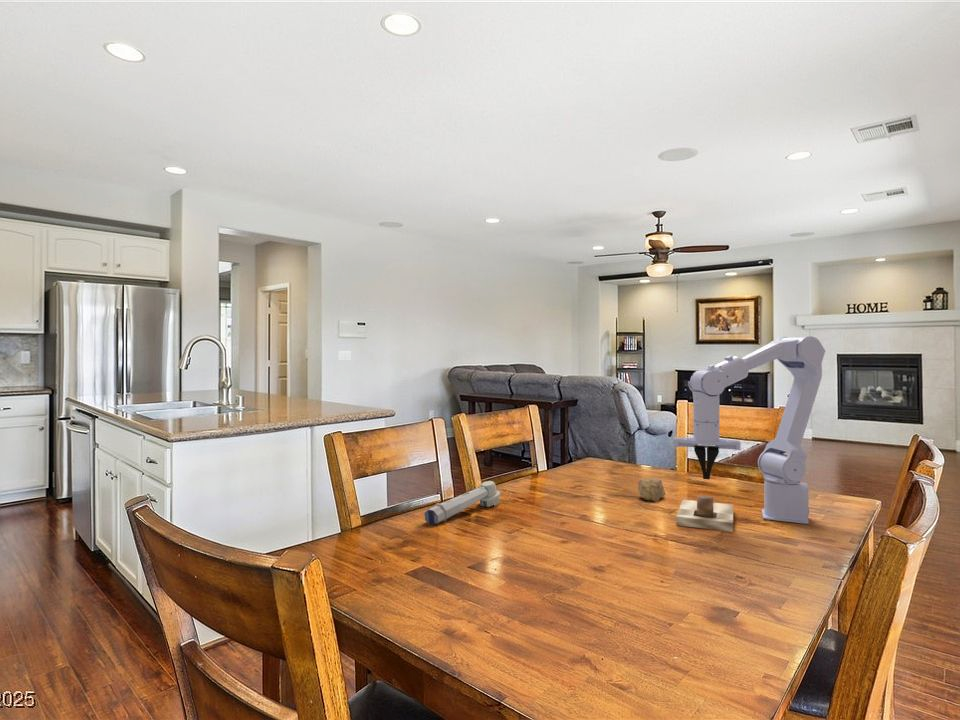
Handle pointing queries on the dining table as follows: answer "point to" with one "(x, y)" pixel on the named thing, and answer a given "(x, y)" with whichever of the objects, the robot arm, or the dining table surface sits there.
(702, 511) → the peg
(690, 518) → the board
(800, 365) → the robot arm
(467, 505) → the grey mallet
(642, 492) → the stone tool
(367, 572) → the dining table surface
